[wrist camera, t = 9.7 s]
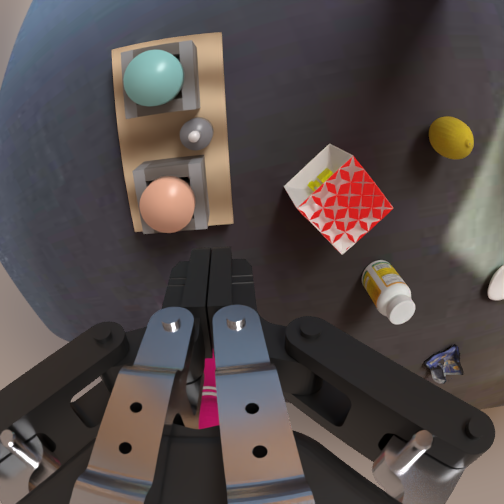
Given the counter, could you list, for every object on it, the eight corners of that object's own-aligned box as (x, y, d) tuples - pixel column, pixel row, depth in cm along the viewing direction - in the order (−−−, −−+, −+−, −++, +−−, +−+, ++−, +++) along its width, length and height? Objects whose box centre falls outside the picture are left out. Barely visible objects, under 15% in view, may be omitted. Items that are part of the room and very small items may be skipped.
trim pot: (182, 118, 30) (174, 122, 26) (212, 115, 30) (209, 118, 26) (185, 147, 32) (178, 155, 27) (214, 144, 32) (212, 152, 27)
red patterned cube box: (329, 143, 36) (353, 155, 29) (366, 187, 38) (393, 208, 32) (282, 186, 38) (295, 208, 31) (322, 227, 41) (341, 255, 34)
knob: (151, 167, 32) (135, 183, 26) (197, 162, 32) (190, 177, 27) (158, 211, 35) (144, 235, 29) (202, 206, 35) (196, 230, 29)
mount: (120, 52, 28) (95, 44, 21) (221, 37, 29) (220, 22, 22) (140, 222, 38) (124, 249, 32) (232, 214, 39) (234, 240, 32)
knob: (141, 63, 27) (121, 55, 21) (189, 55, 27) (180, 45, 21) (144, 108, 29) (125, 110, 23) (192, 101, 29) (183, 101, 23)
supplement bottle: (379, 252, 43) (409, 289, 35) (396, 271, 45) (425, 308, 37) (353, 276, 45) (378, 317, 36) (372, 294, 47) (396, 334, 38)
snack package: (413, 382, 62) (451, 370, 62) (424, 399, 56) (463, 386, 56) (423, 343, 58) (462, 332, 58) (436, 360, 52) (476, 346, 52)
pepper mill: (219, 311, 46) (218, 428, 28) (241, 341, 49) (250, 451, 32) (179, 328, 47) (165, 440, 30) (204, 355, 50) (200, 461, 33)
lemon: (419, 152, 36) (454, 167, 29) (416, 113, 34) (453, 121, 27) (448, 150, 36) (483, 164, 29) (446, 113, 34) (484, 121, 27)
